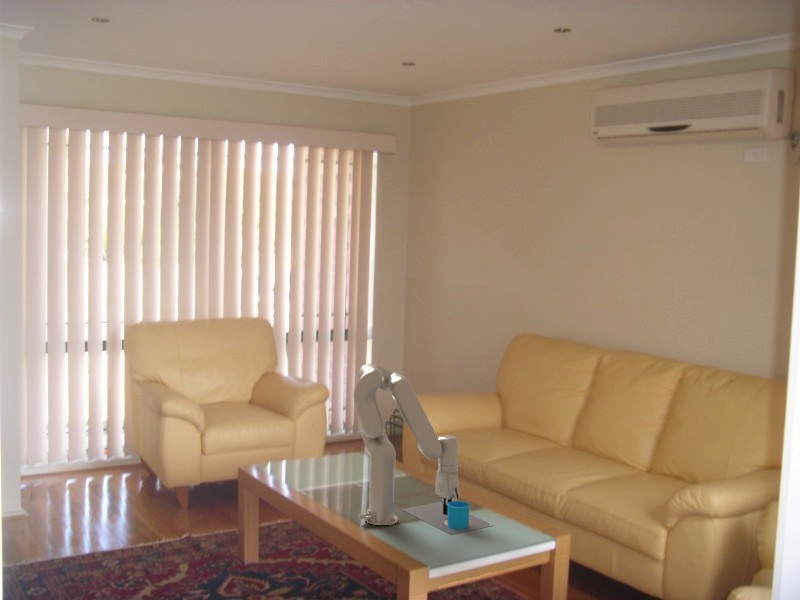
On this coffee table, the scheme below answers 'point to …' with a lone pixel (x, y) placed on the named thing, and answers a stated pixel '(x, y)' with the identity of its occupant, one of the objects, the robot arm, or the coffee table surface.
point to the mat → (442, 518)
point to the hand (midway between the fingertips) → (447, 514)
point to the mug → (458, 515)
